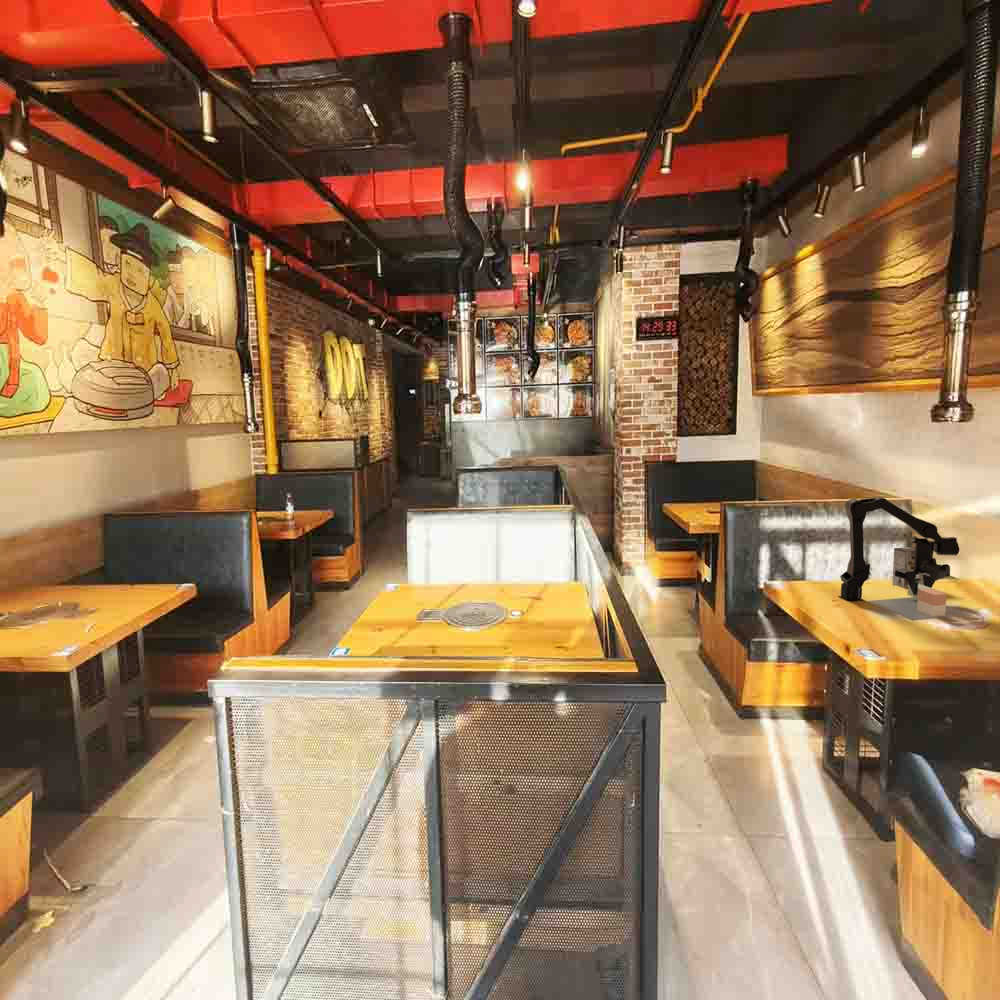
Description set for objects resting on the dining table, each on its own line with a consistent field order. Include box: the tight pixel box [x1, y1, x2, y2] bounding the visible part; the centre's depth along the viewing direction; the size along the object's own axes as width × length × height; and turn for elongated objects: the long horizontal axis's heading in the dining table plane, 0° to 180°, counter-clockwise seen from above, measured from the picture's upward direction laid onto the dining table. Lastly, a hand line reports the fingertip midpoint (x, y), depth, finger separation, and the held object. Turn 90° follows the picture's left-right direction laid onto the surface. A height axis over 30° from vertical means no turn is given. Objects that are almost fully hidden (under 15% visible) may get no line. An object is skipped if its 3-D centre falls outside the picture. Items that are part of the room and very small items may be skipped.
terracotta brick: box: [918, 588, 947, 606], centre depth 209 cm, size 7×5×4 cm, turn 8°
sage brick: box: [907, 584, 936, 598], centre depth 222 cm, size 7×5×4 cm, turn 8°
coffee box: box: [891, 546, 924, 589], centre depth 242 cm, size 9×6×16 cm
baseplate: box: [865, 596, 973, 621], centre depth 216 cm, size 24×22×4 cm
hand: (920, 594), depth 222 cm, fingers closed on sage brick, 5 cm apart
